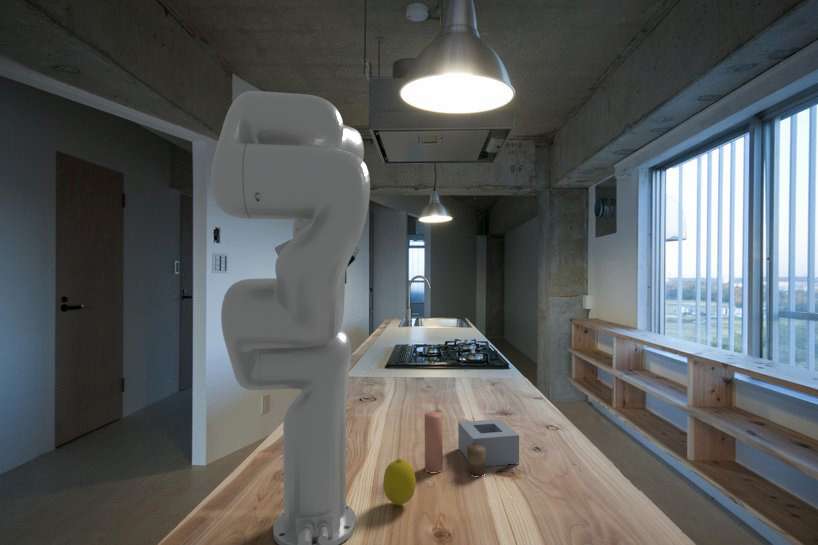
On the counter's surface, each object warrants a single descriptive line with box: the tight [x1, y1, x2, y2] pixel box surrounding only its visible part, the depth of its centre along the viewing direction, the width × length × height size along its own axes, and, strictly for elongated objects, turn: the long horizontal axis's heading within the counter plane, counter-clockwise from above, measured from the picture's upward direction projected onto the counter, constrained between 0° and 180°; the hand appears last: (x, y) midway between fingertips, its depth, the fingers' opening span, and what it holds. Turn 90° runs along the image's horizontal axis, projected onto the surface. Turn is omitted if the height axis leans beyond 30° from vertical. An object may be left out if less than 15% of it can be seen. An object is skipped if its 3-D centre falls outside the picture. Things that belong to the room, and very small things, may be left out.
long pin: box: [424, 411, 444, 472], centre depth 88 cm, size 4×4×11 cm
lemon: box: [382, 458, 417, 507], centre depth 75 cm, size 6×6×8 cm
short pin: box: [466, 444, 487, 476], centre depth 87 cm, size 4×4×5 cm
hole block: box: [457, 418, 520, 467], centre depth 95 cm, size 10×10×6 cm
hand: (318, 287), depth 91 cm, fingers open, 9 cm apart
